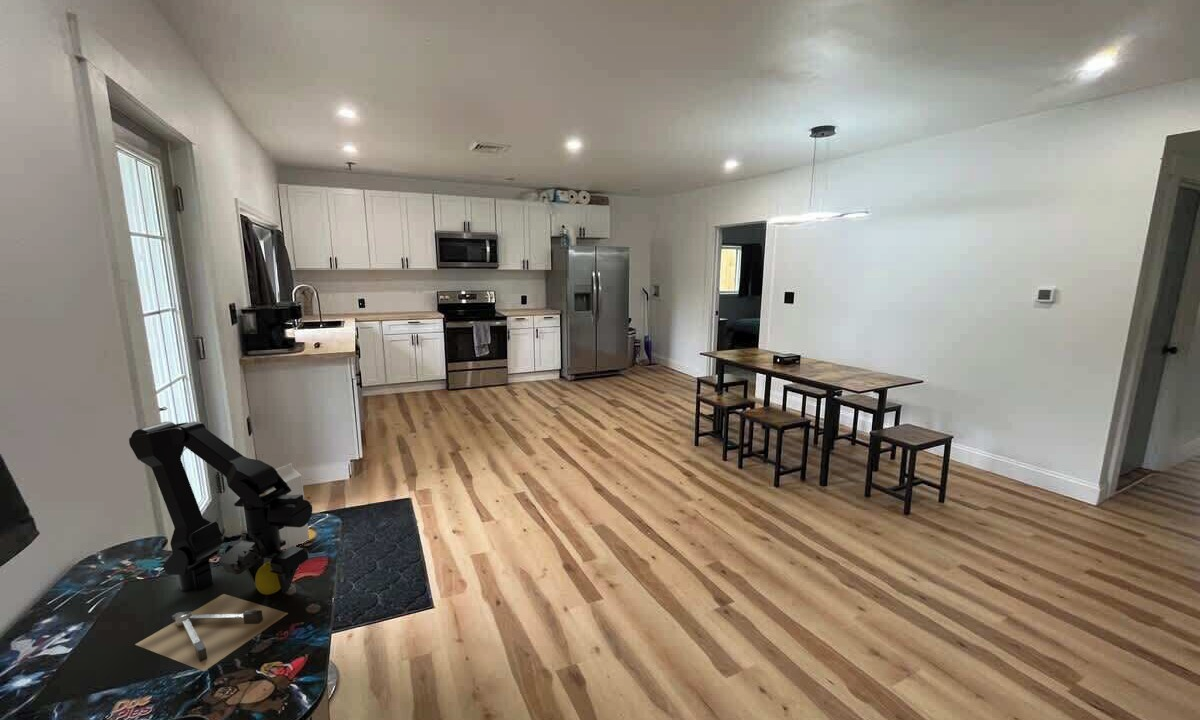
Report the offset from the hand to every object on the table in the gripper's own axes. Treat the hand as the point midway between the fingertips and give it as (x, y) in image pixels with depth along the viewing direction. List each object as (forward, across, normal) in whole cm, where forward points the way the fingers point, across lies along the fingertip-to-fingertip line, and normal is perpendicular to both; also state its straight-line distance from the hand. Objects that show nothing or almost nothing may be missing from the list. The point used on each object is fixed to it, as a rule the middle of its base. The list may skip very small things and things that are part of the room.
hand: (271, 588), depth 108 cm
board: (+2, +1, -12) cm, 13 cm away
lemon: (+2, 0, 0) cm, 2 cm away
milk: (+2, -16, +17) cm, 23 cm away
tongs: (0, 0, -14) cm, 14 cm away
